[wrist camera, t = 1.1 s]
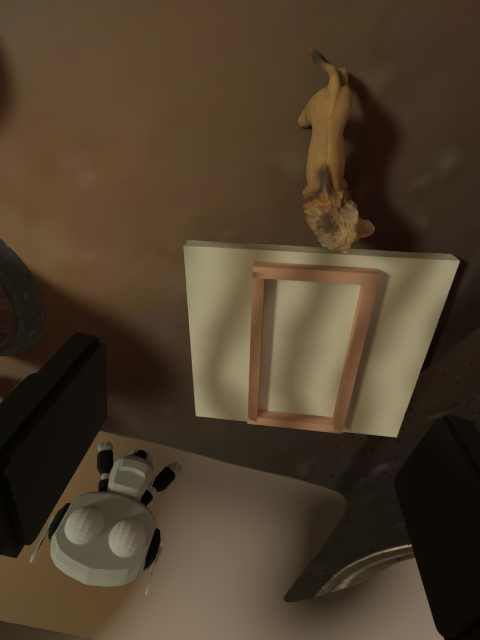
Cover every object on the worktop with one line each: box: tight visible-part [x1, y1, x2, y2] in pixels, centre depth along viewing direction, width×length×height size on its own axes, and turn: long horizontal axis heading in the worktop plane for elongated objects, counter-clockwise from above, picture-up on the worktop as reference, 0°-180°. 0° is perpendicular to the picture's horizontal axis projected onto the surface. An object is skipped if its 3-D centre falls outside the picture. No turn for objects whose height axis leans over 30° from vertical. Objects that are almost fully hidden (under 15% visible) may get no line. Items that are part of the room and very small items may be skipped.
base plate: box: [184, 240, 460, 437], centre depth 33 cm, size 22×20×3 cm
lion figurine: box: [298, 49, 375, 254], centre depth 22 cm, size 12×4×7 cm, turn 15°
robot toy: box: [30, 442, 181, 595], centre depth 39 cm, size 12×4×15 cm, turn 74°
